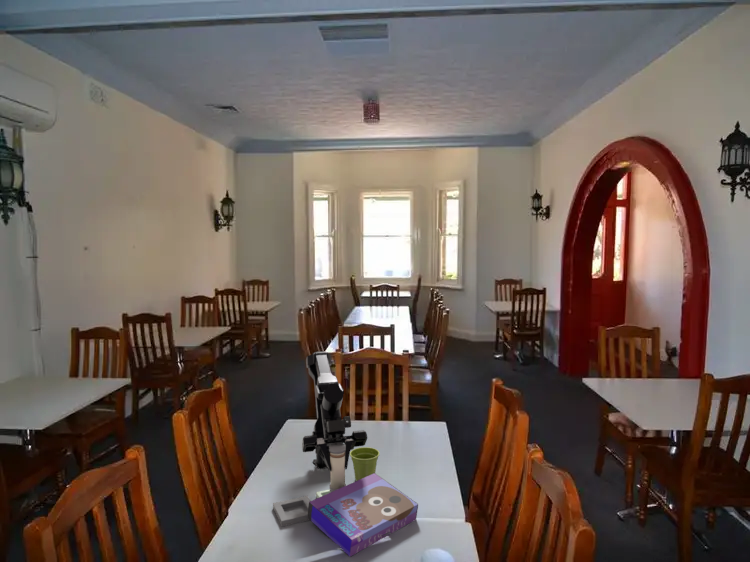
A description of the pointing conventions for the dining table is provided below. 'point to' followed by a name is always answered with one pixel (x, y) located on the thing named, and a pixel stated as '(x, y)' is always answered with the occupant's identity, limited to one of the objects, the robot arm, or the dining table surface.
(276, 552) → the dining table surface
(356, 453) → the plant pot
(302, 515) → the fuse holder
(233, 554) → the dining table surface
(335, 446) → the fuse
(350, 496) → the cereal box
